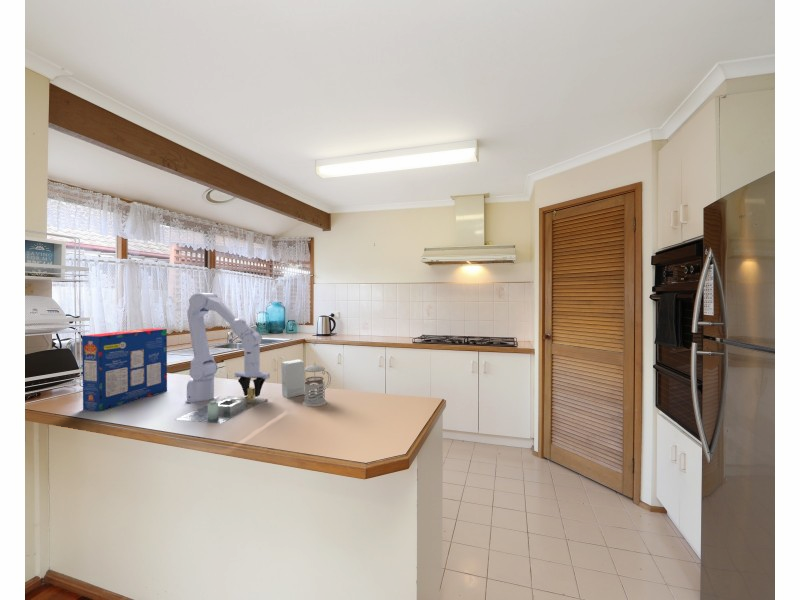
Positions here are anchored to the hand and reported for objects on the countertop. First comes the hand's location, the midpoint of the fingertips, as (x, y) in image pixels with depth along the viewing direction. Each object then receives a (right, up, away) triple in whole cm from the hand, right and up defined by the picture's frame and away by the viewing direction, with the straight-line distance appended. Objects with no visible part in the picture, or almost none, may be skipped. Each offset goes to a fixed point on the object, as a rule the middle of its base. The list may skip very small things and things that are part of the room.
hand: (252, 395), depth 139 cm
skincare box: (+14, -3, +9) cm, 17 cm away
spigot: (-4, -2, -22) cm, 22 cm away
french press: (+26, -3, 0) cm, 26 cm away
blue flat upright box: (-52, -2, +2) cm, 52 cm away
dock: (-5, -3, -11) cm, 13 cm away
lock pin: (-1, -1, -4) cm, 4 cm away
